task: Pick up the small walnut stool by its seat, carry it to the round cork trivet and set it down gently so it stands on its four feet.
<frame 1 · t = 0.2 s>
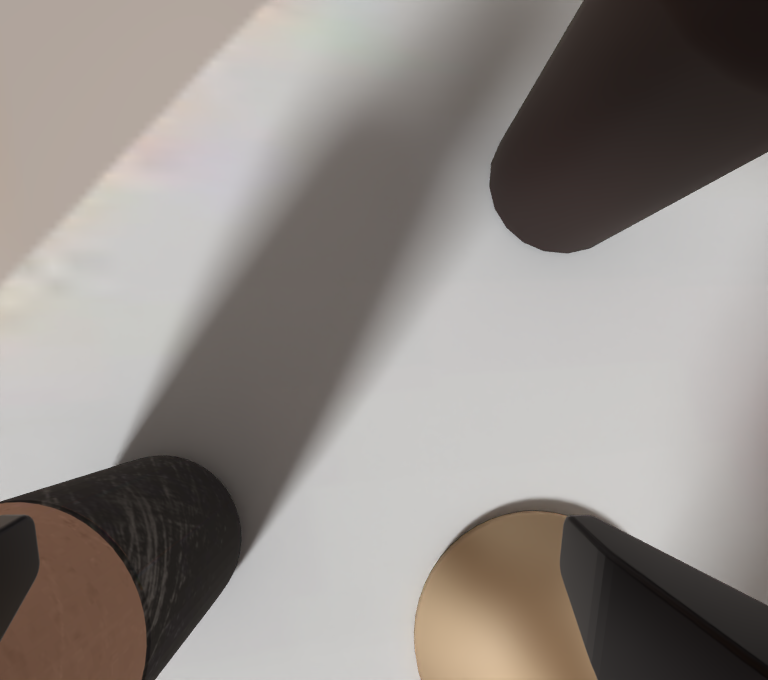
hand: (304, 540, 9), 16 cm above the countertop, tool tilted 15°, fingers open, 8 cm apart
travel mug: (166, 533, 24), on the countertop, touching gripper
trivet: (534, 633, 25), on the countertop
bottle: (556, 186, 26), on the countertop
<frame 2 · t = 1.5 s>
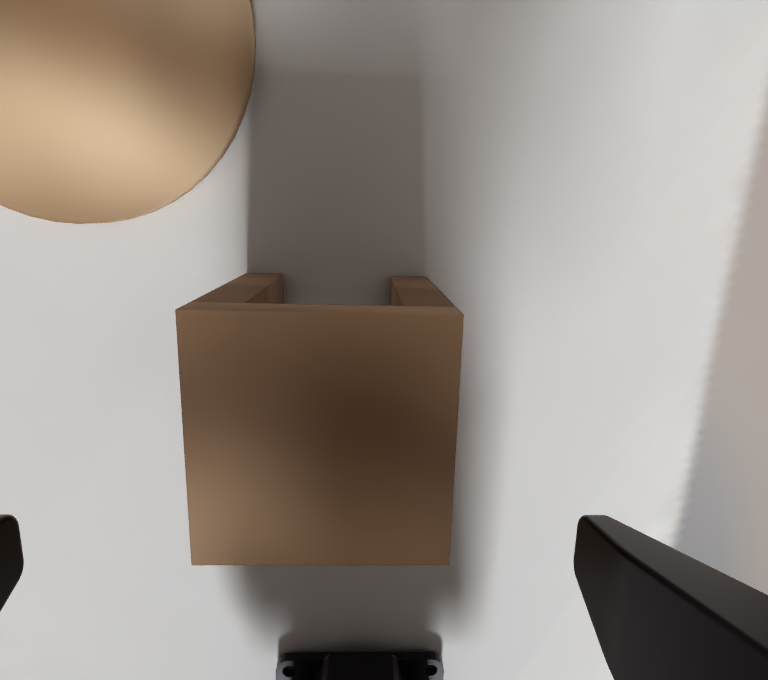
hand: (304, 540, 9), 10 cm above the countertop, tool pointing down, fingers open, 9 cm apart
trivet: (69, 35, 16), on the countertop
stool: (336, 361, 19), on the countertop
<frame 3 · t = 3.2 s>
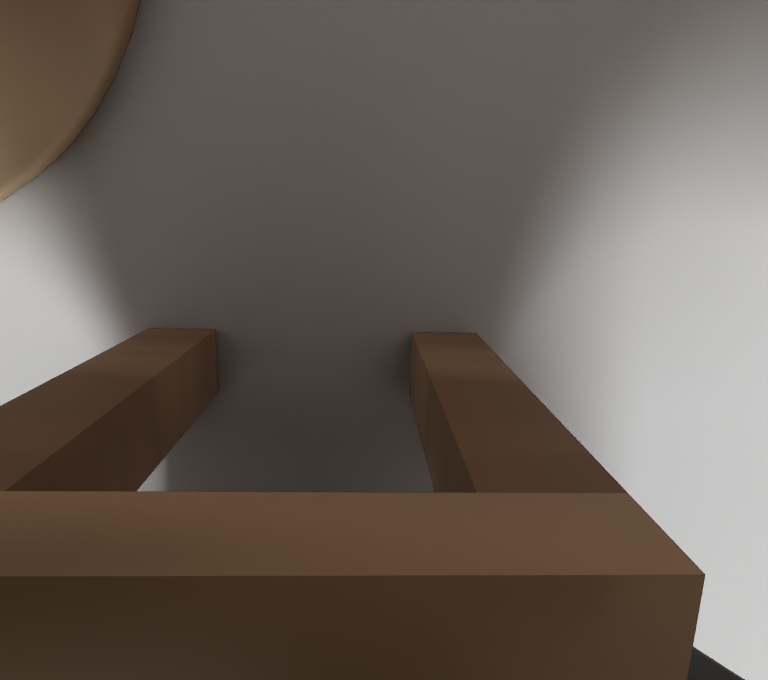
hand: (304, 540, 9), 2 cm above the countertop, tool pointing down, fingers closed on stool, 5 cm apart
stool: (315, 480, 11), on the countertop, touching gripper
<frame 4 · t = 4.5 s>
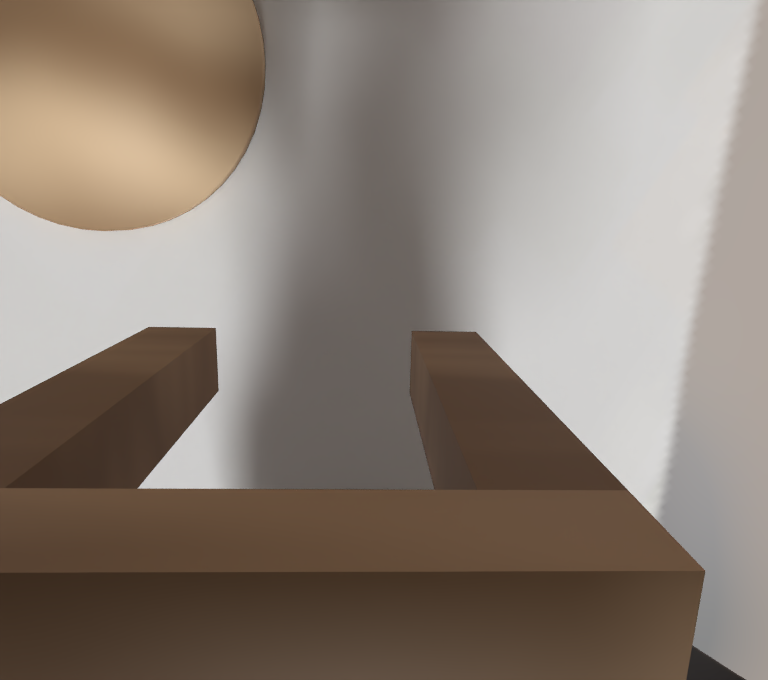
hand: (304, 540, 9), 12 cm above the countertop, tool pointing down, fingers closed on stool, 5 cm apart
trivet: (96, 59, 18), on the countertop
stool: (315, 479, 11), point 10 cm above the countertop, touching gripper
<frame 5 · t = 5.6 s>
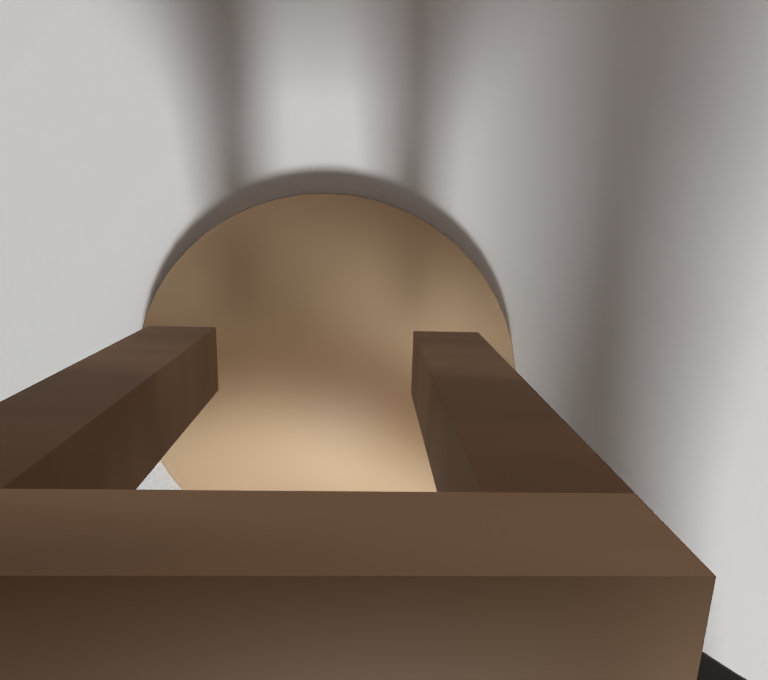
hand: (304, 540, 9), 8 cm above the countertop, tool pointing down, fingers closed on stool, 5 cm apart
trivet: (329, 381, 16), on the countertop
stool: (315, 479, 11), point 6 cm above the countertop, touching gripper
when the fingers open (3 cm above the countertop, at t = 7.1 s): stool stays where it is, resting on trivet.
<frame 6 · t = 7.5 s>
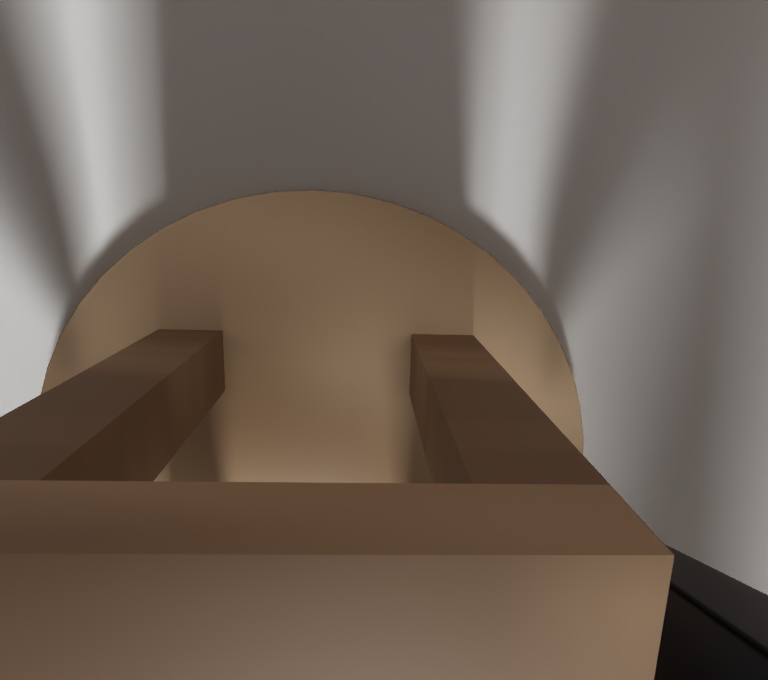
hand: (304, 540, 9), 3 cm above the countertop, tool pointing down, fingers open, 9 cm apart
trivet: (317, 457, 12), on the countertop
stool: (317, 476, 11), point 1 cm above the countertop, touching trivet
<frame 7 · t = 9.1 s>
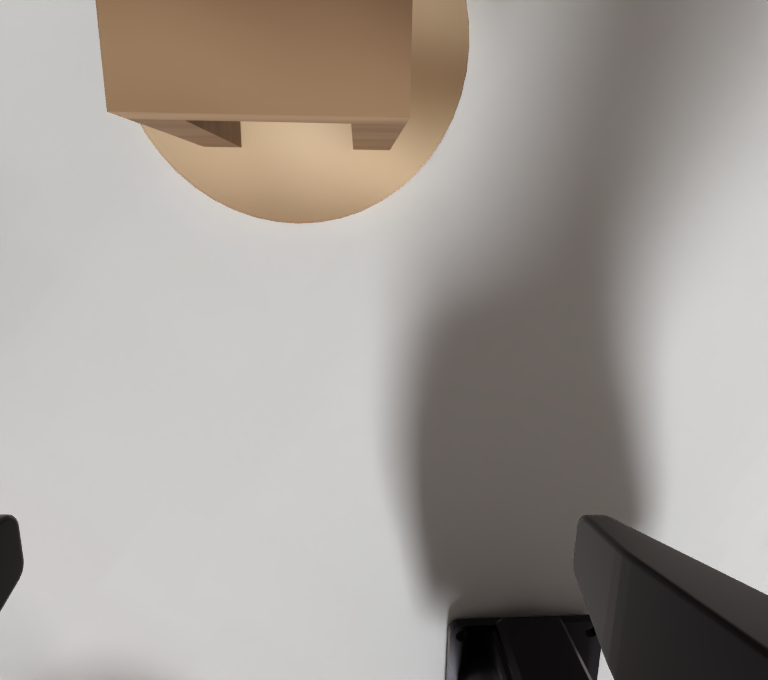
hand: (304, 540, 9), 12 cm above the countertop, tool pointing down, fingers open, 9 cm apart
trivet: (295, 47, 17), on the countertop
stool: (295, 46, 17), point 1 cm above the countertop, touching trivet
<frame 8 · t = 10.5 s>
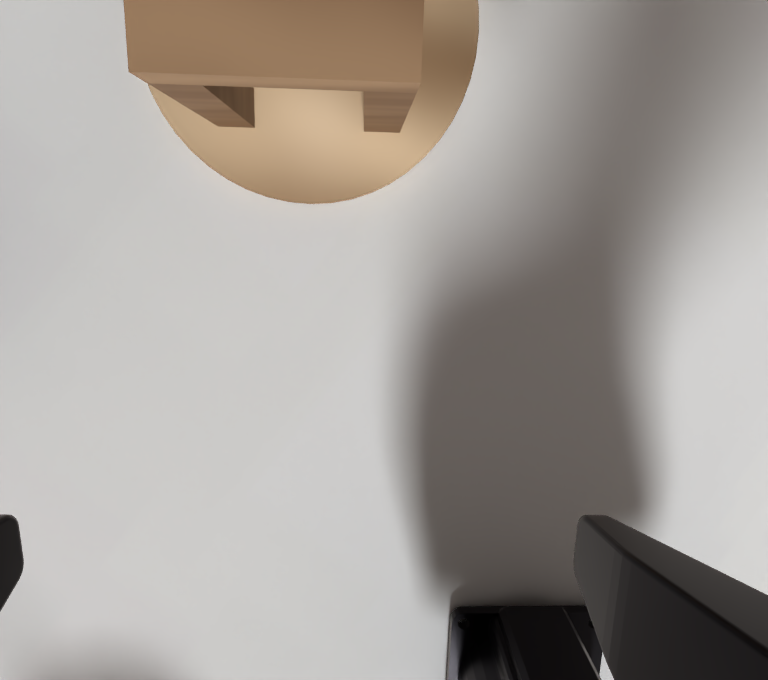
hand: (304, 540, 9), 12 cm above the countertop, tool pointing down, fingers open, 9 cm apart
trivet: (309, 32, 18), on the countertop
stool: (309, 30, 17), point 1 cm above the countertop, touching trivet
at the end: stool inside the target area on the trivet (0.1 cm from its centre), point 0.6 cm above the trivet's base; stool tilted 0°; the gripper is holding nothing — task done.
